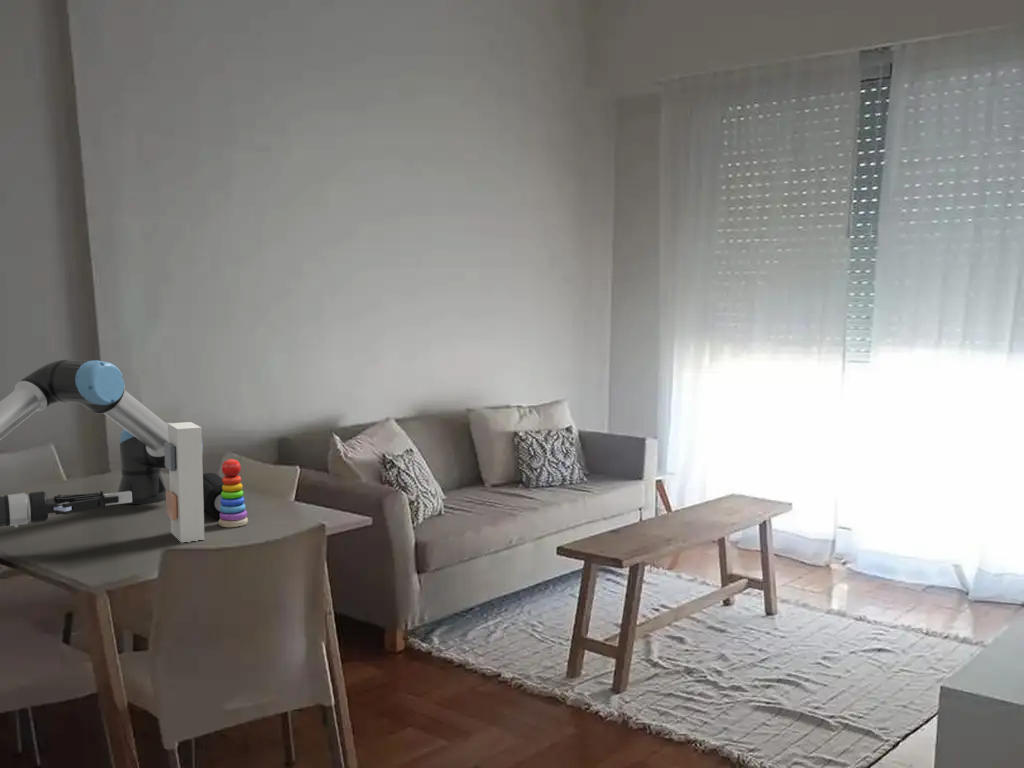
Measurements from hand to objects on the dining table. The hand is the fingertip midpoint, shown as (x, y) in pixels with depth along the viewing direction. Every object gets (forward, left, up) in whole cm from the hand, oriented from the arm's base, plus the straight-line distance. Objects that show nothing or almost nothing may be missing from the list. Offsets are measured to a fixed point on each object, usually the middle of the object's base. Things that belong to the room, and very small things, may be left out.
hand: (131, 496), depth 238 cm
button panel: (0, +14, -12) cm, 19 cm away
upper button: (0, +13, +6) cm, 14 cm away
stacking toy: (-7, +28, -13) cm, 31 cm away
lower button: (0, +13, -7) cm, 14 cm away
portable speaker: (-26, +28, -13) cm, 40 cm away
